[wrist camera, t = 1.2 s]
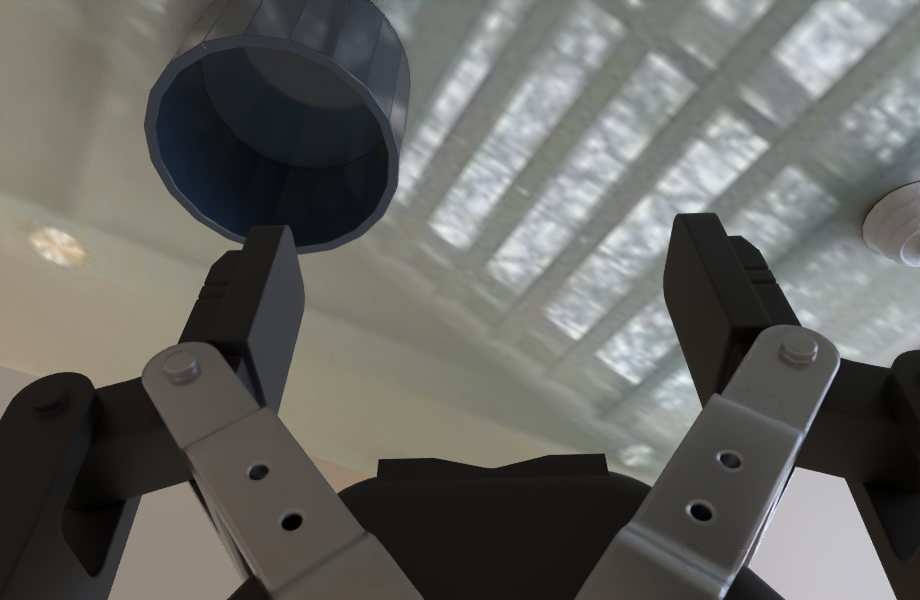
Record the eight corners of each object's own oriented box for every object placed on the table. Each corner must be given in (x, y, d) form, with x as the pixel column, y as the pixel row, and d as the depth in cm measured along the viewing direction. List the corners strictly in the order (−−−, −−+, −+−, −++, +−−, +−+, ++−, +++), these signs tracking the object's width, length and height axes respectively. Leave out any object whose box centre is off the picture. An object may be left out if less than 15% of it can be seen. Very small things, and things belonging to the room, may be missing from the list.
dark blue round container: (156, -8, 31) (94, 63, 26) (377, -54, 30) (358, 11, 25) (246, 182, 38) (211, 267, 33) (431, 152, 37) (423, 236, 32)
